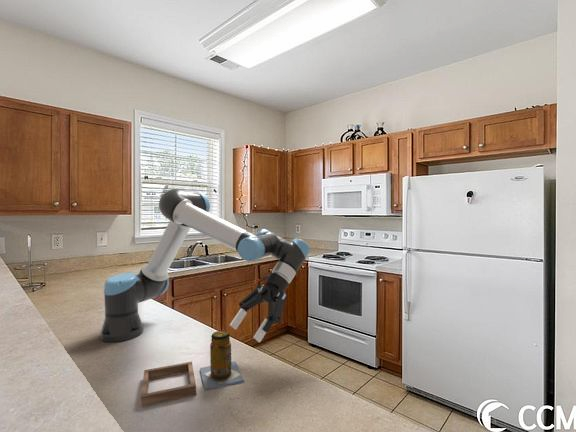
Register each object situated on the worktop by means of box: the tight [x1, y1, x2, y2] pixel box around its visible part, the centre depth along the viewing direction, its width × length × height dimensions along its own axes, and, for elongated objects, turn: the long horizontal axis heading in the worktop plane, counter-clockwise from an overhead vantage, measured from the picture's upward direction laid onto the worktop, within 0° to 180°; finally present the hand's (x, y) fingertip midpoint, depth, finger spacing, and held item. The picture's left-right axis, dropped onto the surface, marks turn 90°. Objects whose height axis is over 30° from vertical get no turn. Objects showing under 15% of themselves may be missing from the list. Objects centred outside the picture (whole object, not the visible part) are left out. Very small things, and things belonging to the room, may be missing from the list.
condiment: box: [205, 330, 242, 384], centre depth 93 cm, size 7×8×12 cm
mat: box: [199, 361, 245, 391], centre depth 94 cm, size 12×11×1 cm
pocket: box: [140, 361, 197, 408], centre depth 88 cm, size 14×13×2 cm
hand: (243, 333), depth 98 cm, fingers open, 13 cm apart
